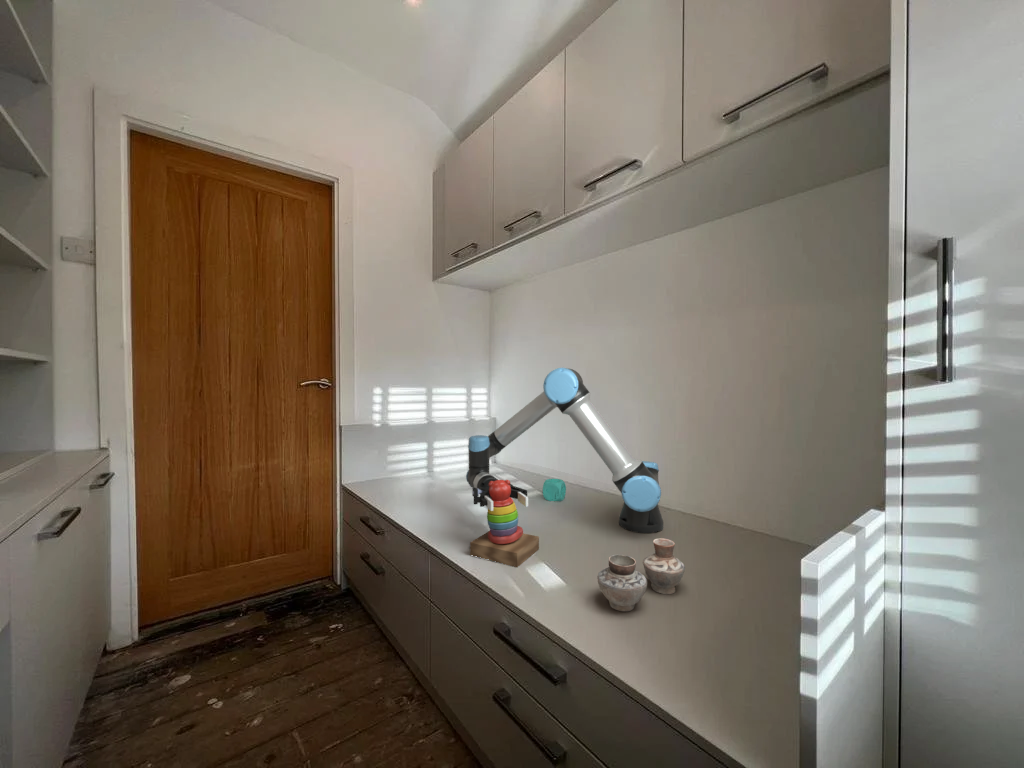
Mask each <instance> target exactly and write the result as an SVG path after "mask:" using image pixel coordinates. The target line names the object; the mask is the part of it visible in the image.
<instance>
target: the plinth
mask: <svg viewBox="0 0 1024 768" xmlns="http://www.w3.org/2000/svg"><path fill="white" fill-rule="evenodd" d="M488 532H489V531H487V532H485V533H483V534H482V535H480V536H478V537H476V538H475V539H473V540H471V541H470V542H469V555H473V556H477V557H481V558H485V559H489V560H492V561H491V562H493V561H496V562H495V563H497V562H499V563H498V564H501V563H503V564H502V565H505V564H506V566H509V565H510V567H513V566H514V568H518V566H519V567H520V566H521V565H522V564H524V563H525V562H526V561H527V560H528V559H529V558H531V557H532V556H533V555H534V554H535V553H536V552H538V551H539V550H540V537H539V536H538V535H535V534H534V535H532V534H528V533H525V532H523V534H522V536H521V537H520V538H519V539H518V540H516V541H514V542H511V543H507V544H496V543H493V542H491V541H490V540H489V538H488ZM473 556H472V557H473ZM477 557H476V558H477ZM481 558H480V559H481ZM485 559H484V560H485ZM489 560H488V561H489Z"/></svg>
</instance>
